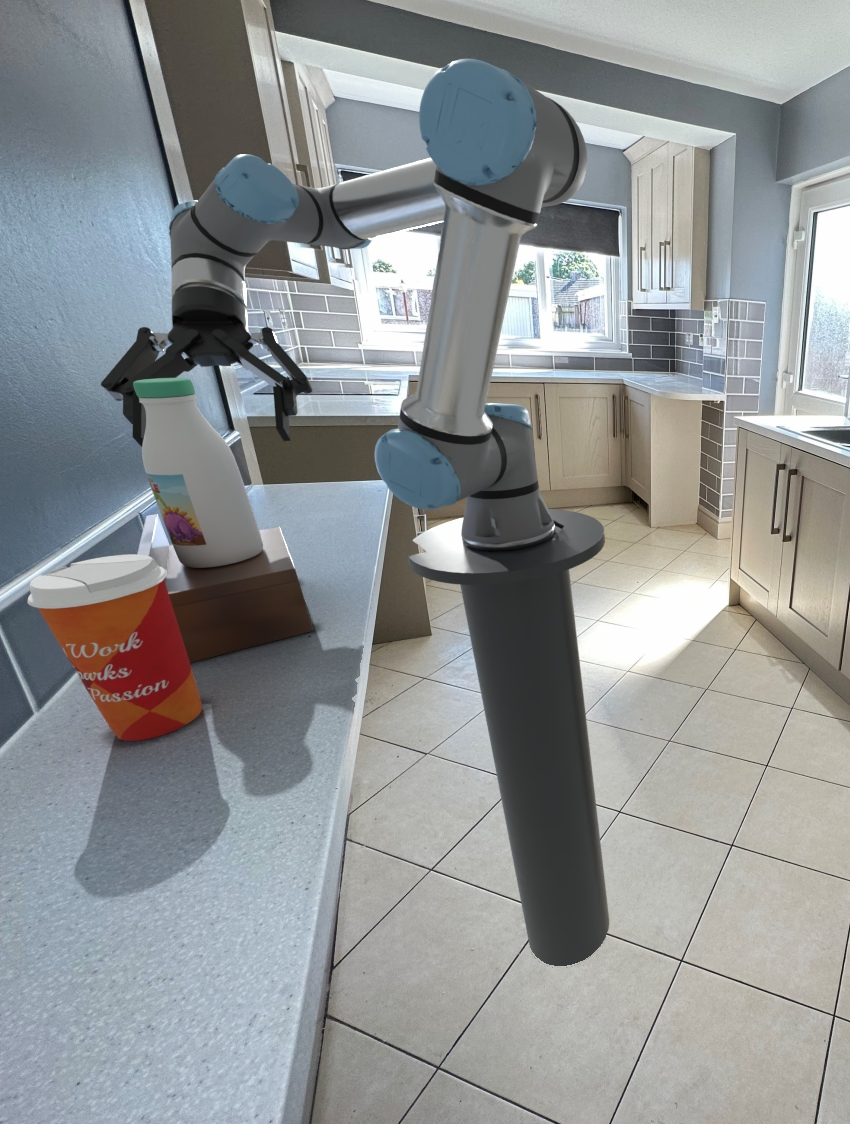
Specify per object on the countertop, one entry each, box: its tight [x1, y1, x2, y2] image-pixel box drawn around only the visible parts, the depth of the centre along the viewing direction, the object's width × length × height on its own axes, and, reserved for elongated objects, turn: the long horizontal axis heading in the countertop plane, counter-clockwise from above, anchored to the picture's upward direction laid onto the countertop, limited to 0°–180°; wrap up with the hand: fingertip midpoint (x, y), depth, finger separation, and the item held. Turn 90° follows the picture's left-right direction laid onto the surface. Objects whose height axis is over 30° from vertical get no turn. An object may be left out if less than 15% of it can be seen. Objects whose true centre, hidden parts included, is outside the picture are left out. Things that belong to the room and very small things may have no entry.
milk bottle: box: [133, 377, 263, 568], centre depth 67 cm, size 8×8×20 cm
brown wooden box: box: [137, 513, 315, 664], centre depth 72 cm, size 12×18×12 cm, turn 40°
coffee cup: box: [27, 554, 203, 742], centre depth 53 cm, size 8×8×15 cm
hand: (215, 439), depth 74 cm, fingers open, 13 cm apart
